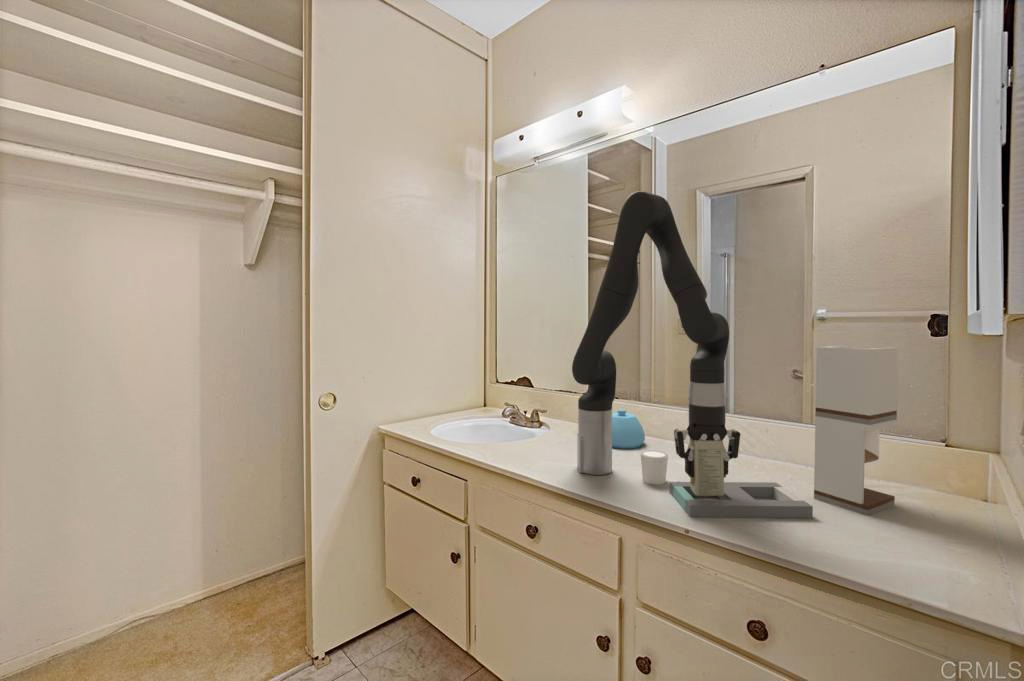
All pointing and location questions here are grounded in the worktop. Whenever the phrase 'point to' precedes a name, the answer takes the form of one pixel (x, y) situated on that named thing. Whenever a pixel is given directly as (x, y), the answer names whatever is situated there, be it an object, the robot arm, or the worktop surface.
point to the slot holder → (743, 501)
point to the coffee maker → (852, 422)
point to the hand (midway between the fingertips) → (706, 476)
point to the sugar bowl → (626, 430)
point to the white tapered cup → (654, 466)
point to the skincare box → (708, 468)
